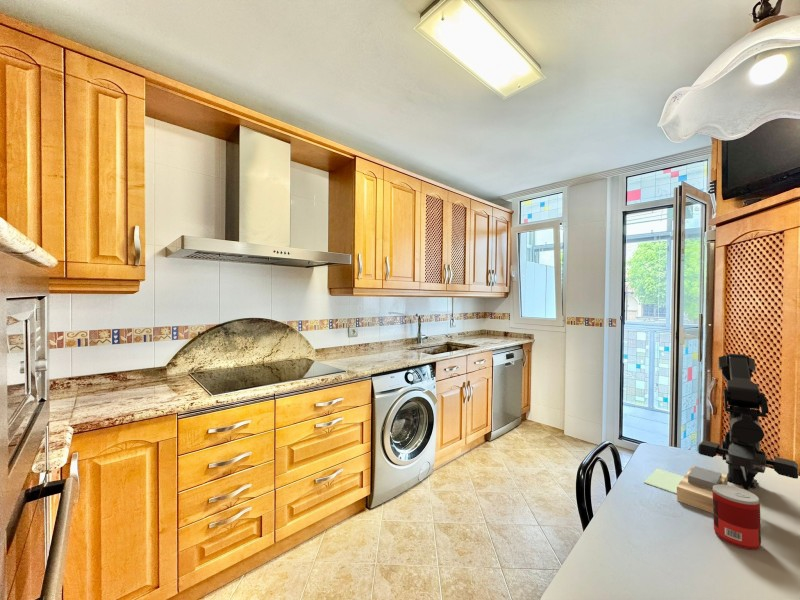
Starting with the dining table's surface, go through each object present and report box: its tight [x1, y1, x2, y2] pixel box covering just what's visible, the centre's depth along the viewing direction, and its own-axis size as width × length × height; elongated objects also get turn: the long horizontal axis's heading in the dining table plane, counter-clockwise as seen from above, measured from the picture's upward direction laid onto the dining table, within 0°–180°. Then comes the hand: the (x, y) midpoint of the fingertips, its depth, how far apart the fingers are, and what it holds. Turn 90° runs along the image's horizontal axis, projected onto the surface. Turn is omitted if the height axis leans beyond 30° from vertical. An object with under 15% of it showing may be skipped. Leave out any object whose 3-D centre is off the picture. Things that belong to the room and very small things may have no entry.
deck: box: [676, 465, 728, 514], centre depth 98 cm, size 20×8×4 cm, turn 128°
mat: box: [643, 468, 685, 495], centre depth 105 cm, size 14×9×1 cm, turn 128°
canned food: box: [712, 484, 762, 551], centre depth 79 cm, size 8×8×11 cm
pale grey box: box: [688, 465, 723, 490], centre depth 97 cm, size 9×6×2 cm, turn 128°
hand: (746, 489), depth 91 cm, fingers closed
